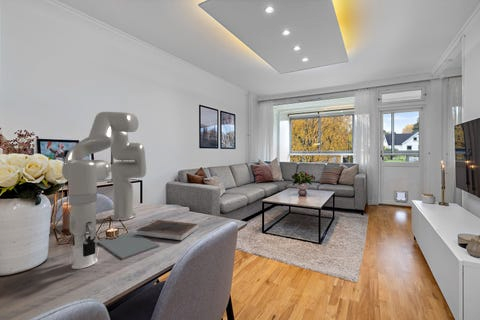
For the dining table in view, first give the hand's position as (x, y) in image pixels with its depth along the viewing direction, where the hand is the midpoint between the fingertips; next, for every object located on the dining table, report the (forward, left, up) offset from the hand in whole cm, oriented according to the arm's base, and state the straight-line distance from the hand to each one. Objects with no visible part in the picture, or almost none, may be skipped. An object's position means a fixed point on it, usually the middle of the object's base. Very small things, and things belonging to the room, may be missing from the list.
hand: (83, 250), depth 73 cm
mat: (-4, +16, -5) cm, 17 cm away
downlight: (0, 0, -5) cm, 5 cm away
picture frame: (-3, +34, -4) cm, 35 cm away
